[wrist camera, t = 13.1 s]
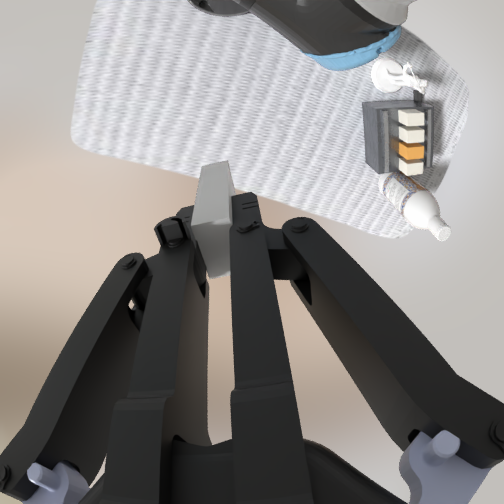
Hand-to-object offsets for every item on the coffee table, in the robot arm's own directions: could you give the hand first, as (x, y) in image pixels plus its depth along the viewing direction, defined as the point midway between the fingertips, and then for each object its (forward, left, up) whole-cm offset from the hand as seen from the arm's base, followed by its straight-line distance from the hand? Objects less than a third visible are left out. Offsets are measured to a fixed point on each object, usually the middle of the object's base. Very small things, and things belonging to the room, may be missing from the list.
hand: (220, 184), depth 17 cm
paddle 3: (+12, +30, -30) cm, 44 cm away
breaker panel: (+10, +30, -36) cm, 48 cm away
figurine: (-1, +30, -37) cm, 47 cm away
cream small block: (+15, +30, -30) cm, 45 cm away
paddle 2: (+9, +30, -30) cm, 44 cm away
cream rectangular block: (+6, +30, -30) cm, 43 cm away
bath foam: (+21, +30, -37) cm, 52 cm away
